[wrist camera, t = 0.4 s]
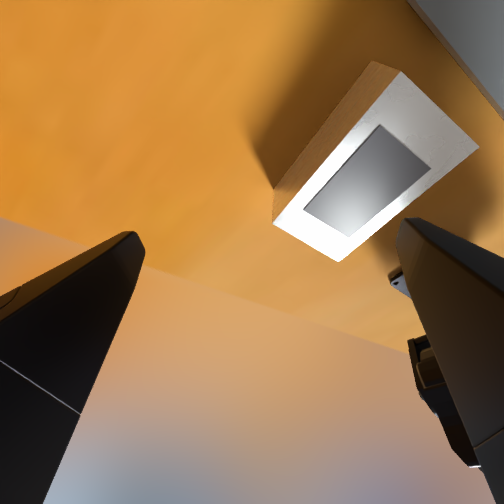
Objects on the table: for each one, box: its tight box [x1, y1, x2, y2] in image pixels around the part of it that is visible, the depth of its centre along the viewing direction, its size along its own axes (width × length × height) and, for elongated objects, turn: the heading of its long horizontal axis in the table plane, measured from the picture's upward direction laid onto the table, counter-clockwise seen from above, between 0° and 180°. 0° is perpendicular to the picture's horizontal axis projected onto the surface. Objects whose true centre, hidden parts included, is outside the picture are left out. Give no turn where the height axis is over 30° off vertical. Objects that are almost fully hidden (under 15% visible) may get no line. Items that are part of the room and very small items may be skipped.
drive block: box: [272, 61, 479, 262], centre depth 17 cm, size 6×10×5 cm, turn 148°
